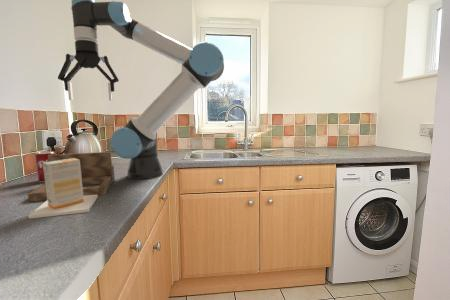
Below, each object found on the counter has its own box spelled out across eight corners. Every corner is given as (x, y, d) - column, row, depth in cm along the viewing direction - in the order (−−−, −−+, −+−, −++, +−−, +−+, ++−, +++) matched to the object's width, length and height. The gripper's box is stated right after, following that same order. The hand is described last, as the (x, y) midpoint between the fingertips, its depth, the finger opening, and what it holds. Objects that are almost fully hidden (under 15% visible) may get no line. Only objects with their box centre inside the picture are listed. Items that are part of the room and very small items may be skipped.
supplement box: (78, 198, 78) (74, 157, 76) (84, 201, 75) (80, 159, 73) (47, 206, 72) (42, 161, 70) (52, 209, 69) (47, 163, 67)
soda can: (36, 180, 104) (32, 152, 103) (56, 177, 110) (53, 150, 108) (40, 183, 99) (36, 154, 98) (61, 180, 105) (58, 152, 103)
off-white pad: (97, 196, 82) (97, 194, 82) (88, 211, 69) (88, 209, 69) (48, 201, 78) (48, 199, 78) (28, 218, 65) (28, 215, 65)
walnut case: (115, 180, 104) (112, 151, 103) (107, 194, 85) (105, 159, 83) (52, 185, 97) (48, 154, 96) (29, 201, 78) (24, 164, 77)
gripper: (123, 47, 99) (126, 100, 102) (51, 42, 92) (57, 100, 95) (121, 41, 92) (125, 99, 95) (43, 36, 85) (49, 99, 88)
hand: (91, 100), depth 95 cm, fingers open, 13 cm apart
